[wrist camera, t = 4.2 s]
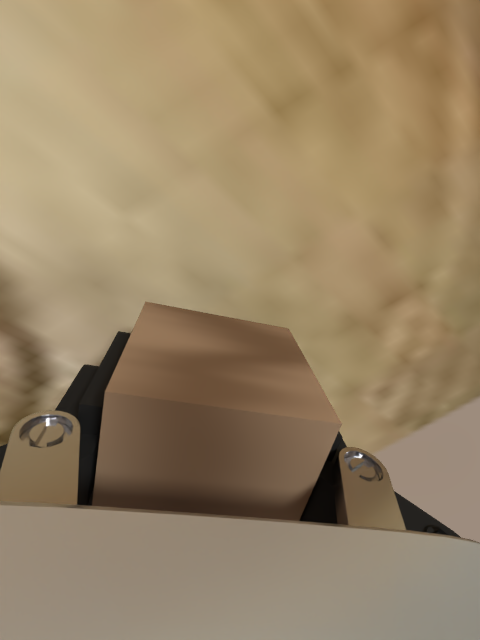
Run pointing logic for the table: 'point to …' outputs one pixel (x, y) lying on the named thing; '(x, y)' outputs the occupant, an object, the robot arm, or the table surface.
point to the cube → (212, 419)
